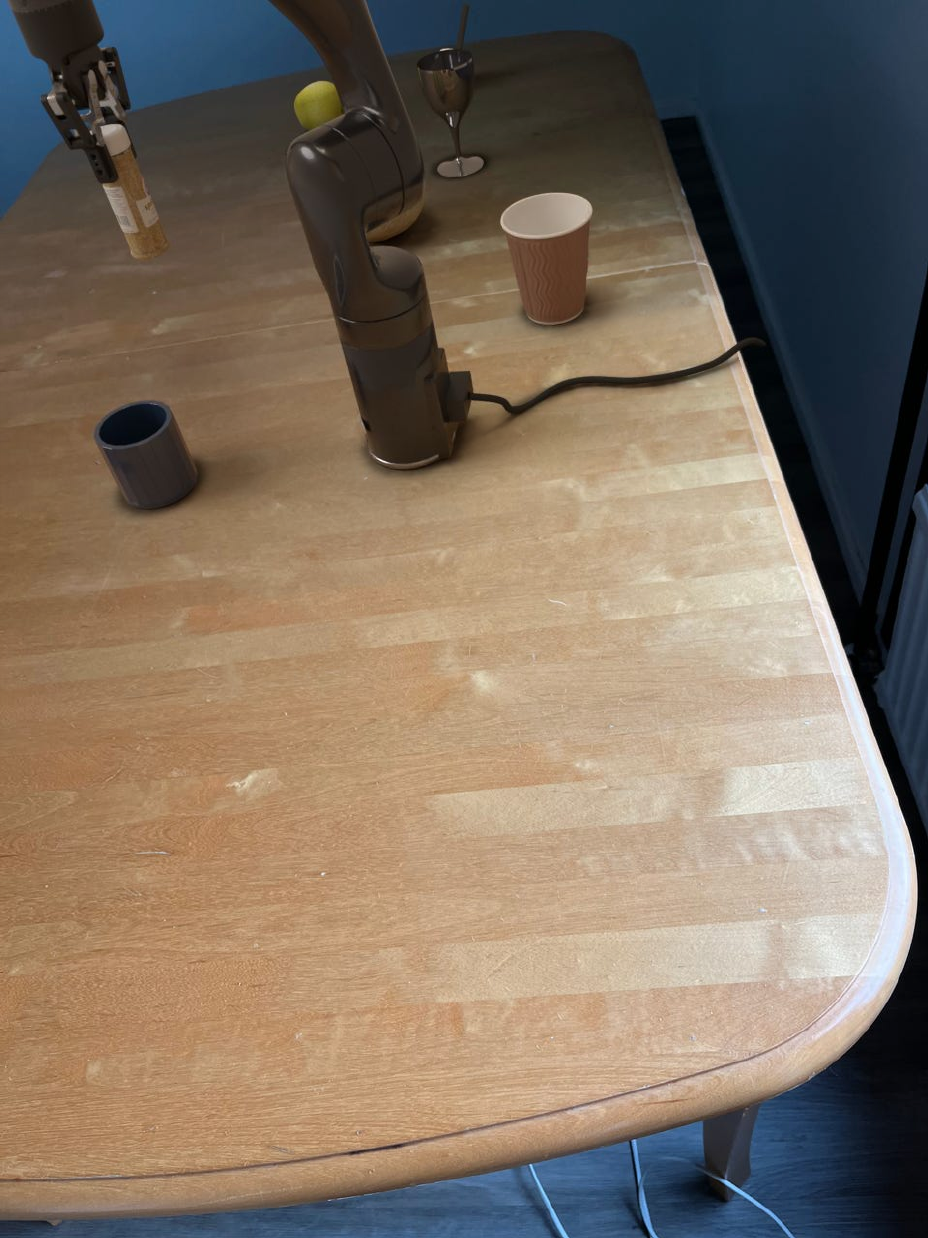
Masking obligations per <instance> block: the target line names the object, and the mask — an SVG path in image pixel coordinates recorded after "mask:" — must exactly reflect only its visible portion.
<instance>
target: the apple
mask: <svg viewBox="0 0 928 1238" xmlns="http://www.w3.org/2000/svg"><path fill="white" fill-rule="evenodd" d="M293 109H294V113H295V116H296V117H297V120H298V122H299V124H300V125H301V127H302V128H303V129H305V130H306V131H307V132H308V131H310V130H312V129H314V128H316V127H319V126H321V125H323V124H325V123H327V122H329V121H331V120H333V119H335V118H337V117H339V116H341V115H344V112H343V108H342V104H341V102H340V99H339V96H338V93H337V91H336V88H335V86H334V83H333V82H330V81H326V80H317V81H315V82H312V83H310V84H308V85H307V86H305V87H304V88H303V89H302V90H300V91H299V93H297V95H296V96H295V99H294V101H293Z"/></svg>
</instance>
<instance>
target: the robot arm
mask: <svg viewBox="0 0 928 1238" xmlns="http://www.w3.org/2000/svg"><path fill="white" fill-rule="evenodd" d="M267 1H268V2H269V3H270V4H271V5H272V6H273V7H275V8H276V9H277V10H278V11H279V13H281V14H282V15H283V16H284V17H285V18H286V19H287V20H288V21H289V22H290V23H291V24H292V25H293V26H294V27H296V29H298V31H299V32H300V33H301V34H302V35H303V36H304V38H306V40H307V41H308V42H309V43H310V44H311V45H312V47H313V49H314V50H315V51H316V52H317V54H318V56H319V58H320V59H321V61H322V62H323V64H324V66H325V68H326V70H327V73H328V75H329V76H330V79H331V81H332V83H333V84H334V86H335V88H336V91H337V93H338V96H339V99H340V102H341V104H342V108H343V112H344V115H341V116H339V117H337V118H335V119H333V120H331V121H329V122H327V123H325V124H323V125H321V126H319V127H316V128H314V129H312V130H310V131H308V130H307V131H306V132H304V133H302V134H301V135H299V136H297V137H296V138H295V139H293V140H292V141H291V142H290V143H289V145H288V148H287V151H286V156H285V171H286V177H287V182H288V187H289V190H290V191H289V192H290V193H291V197H292V200H293V204H294V207H295V210H296V212H297V215H298V218H299V221H300V225H301V227H302V229H303V234H304V236H305V239H306V242H307V245H308V248H309V252H310V255H311V258H312V261H313V264H314V267H315V271H316V272H317V275H318V277H319V279H320V281H321V283H322V286H323V288H324V290H325V291H326V295H327V297H328V300H329V303H330V307H331V311H332V314H333V319H334V322H335V323H334V324H335V327H336V330H337V333H338V337H339V341H340V345H341V349H342V352H343V357H344V359H345V363H346V367H347V371H348V374H349V378H350V383H351V386H352V390H353V392H354V393H353V394H354V396H355V400H356V404H357V408H358V410H356V413H357V417H358V420H359V422H360V424H361V427H362V428H363V431H364V435H365V440H366V442H367V447H368V448H367V449H368V452H369V455H370V457H371V458H372V460H374V461H375V462H376V463H377V464H379V465H380V466H383V467H386V468H389V469H394V470H411V469H412V470H413V469H418V468H422V467H426V466H429V465H431V464H433V463H435V462H436V461H439V460H447V459H450V458H452V457H451V456H452V452H453V448H454V444H455V442H456V439H457V438H456V437H457V431H458V428H459V423H467V422H468V417H469V414H470V410H471V409H470V408H471V405H472V401H474V402H484V403H486V402H487V403H493V404H497V405H501V406H502V407H503V409H504V411H505V412H507V413H508V414H521V413H523V412H525V411H528V410H530V409H531V408H532V407H534V406H536V405H537V404H539V403H541V402H542V401H544V400H546V399H547V398H549V397H551V396H552V395H554V394H555V393H557V392H559V391H560V390H563V389H565V388H569V387H571V386H578V385H586V384H601V385H602V384H603V385H605V384H606V385H618V386H619V385H622V386H631V385H632V386H633V385H635V386H636V385H645V384H653V383H661V382H666V381H667V382H668V381H672V380H677V379H681V378H686V377H689V376H692V375H697V374H700V373H703V372H706V371H708V370H711V369H712V370H713V369H715V368H716V367H718V366H720V365H722V364H723V363H725V362H727V361H728V360H729V359H731V358H732V357H733V356H735V355H736V354H737V353H738V352H740V351H741V350H743V349H744V348H746V347H748V346H755V347H758V348H764V347H765V346H766V345H767V343H766V342H765V341H764V340H762V339H761V338H758V337H747V338H744V339H742V340H740V341H739V342H737V343H735V344H734V345H733V346H731V347H730V348H729V349H728V350H726V351H725V352H724V353H722V354H721V355H720V356H718V357H716V358H715V359H713V360H710V361H708V362H705V363H702V364H699V365H694V366H692V367H688V368H683V369H680V370H676V371H671V372H670V371H669V372H664V373H659V374H658V373H657V374H652V375H645V376H633V377H632V376H630V377H629V376H628V377H626V376H625V377H624V376H622V377H621V376H608V375H607V376H605V375H587V376H586V375H585V376H578V377H577V376H576V377H572V378H568V379H565V380H561V381H559V382H557V383H555V384H553V385H552V386H550V387H548V388H546V389H545V390H543V391H542V392H541V393H539V394H538V395H536V396H535V397H533V398H532V399H530V400H529V401H526V402H524V403H522V404H519V405H512V404H511V403H510V402H509V400H508V399H507V398H505V397H502V396H499V395H496V394H491V393H479V392H474V391H475V390H474V386H473V380H472V374H471V370H457V371H450V369H449V366H448V359H447V354H446V350H445V347H439V343H438V339H437V333H436V329H435V323H434V317H433V312H432V308H431V301H430V296H429V292H428V287H427V281H426V274H425V270H424V267H423V264H422V262H421V259H420V258H419V257H418V256H417V255H416V254H415V253H413V252H412V251H410V250H408V249H405V248H401V247H398V246H392V245H373V246H370V242H368V239H367V233H368V232H370V231H372V230H374V229H376V228H377V227H379V226H381V225H383V224H385V223H387V222H388V221H390V220H392V219H394V218H396V217H397V216H399V215H401V214H403V213H404V212H406V211H408V210H409V209H411V208H413V207H414V206H415V205H416V204H418V202H419V201H420V199H421V198H422V196H423V193H424V188H425V182H426V172H425V171H426V170H425V164H424V160H423V154H422V151H421V147H420V144H419V140H418V137H417V134H416V131H415V128H414V126H413V123H412V120H411V118H410V115H409V112H408V110H407V107H406V105H405V102H404V99H403V97H402V95H401V93H400V90H399V87H398V85H397V82H396V79H395V77H394V74H393V72H392V70H391V69H392V68H391V66H390V64H389V62H388V59H387V56H386V53H385V51H384V49H383V46H382V43H381V40H380V38H379V35H378V31H377V29H376V27H375V25H374V22H373V21H374V20H373V19H372V15H371V12H370V9H369V7H368V3H367V1H366V0H267ZM7 2H8V4H9V7H10V9H11V12H12V14H13V16H14V19H15V21H16V23H17V26H18V28H19V31H20V33H21V35H22V38H23V40H24V42H25V44H26V47H27V49H28V52H29V53H30V55H31V56H32V57H34V58H35V59H38V60H41V61H43V62H44V63H45V64H46V66H47V69H48V73H49V78H50V82H51V85H52V87H51V90H50V92H49V93H42V94H41V95H40V103H41V105H42V107H43V108H44V110H45V112H46V113H47V115H48V117H49V119H50V121H52V123H53V125H54V126H55V128H56V130H57V131H58V133H59V135H60V136H61V138H62V139H63V141H64V143H65V144H66V146H67V147H68V149H69V150H71V151H75V150H82V151H84V153H85V155H86V157H87V159H88V160H87V161H88V162H89V165H90V167H91V169H92V171H93V174H94V177H95V178H96V180H97V182H98V183H99V184H100V185H101V184H102V185H103V184H106V183H114V182H116V181H117V179H118V178H119V176H118V173H117V171H116V168H115V166H114V163H113V161H112V158H111V156H110V153H109V151H108V148H107V146H106V144H104V138H103V134H102V130H101V123H102V124H103V126H105V125H110V124H119V125H122V126H123V127H124V128H125V130H126V132H127V135H128V137H129V140H130V143H131V144H130V146H131V150H132V152H133V155H134V158H135V160H137V157H138V154H137V151H136V148H135V146H134V143H133V141H132V138H131V136H130V133H129V130H128V127H127V125H126V122H127V120H128V117H127V113H126V111H130V110H131V109H132V104H131V100H130V96H129V92H128V89H127V84H126V81H125V75H124V72H123V67H122V64H121V60H120V56H119V51H118V49H117V48H116V47H115V46H105V47H100V46H99V44H100V43H101V42H102V40H103V39H104V36H105V30H104V27H103V24H102V22H101V19H100V15H99V14H98V10H97V9H96V6H95V3H94V0H7ZM86 110H89V112H88V113H83V114H80V113H79V111H86ZM86 123H88V124H89V126H90V127H89V128H90V129H89V128H88V126H87V125H86ZM71 130H73V132H72V131H71ZM90 131H92V135H91V133H90ZM73 133H74V134H73Z"/></svg>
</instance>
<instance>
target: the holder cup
mask: <svg viewBox="0 0 928 1238" xmlns="http://www.w3.org/2000/svg"><path fill="white" fill-rule="evenodd" d="M93 430H94V431H93V440H94V441H95V444H96V446H97V448H98V449H99V452H100V453H101V455H102V457H103V459H104V461H105V463H106V465H107V467H108V470H109V472H110V473H111V475H112V477H113V479H114V481H115V483H116V485H117V487H118V489H119V491H120V493H121V495H122V497H123V498H124V500H125V502H126V503H127V504H128V505H129V506H132V507H133V508H137V509H141V510H154V509H155V510H156V509H160V508H164V507H167V506H169V505H172V504H174V503H176V502H177V501H180V500H182V499H183V498H184V497H186V496H187V495H188V494H189V492H191V491H192V490H193V489H194V487H195V486H196V484H197V481H198V478H199V472H198V469H197V466H196V463H195V462H194V458H193V457H192V455H191V452H190V450H189V446H188V445H187V443H186V441H185V438H184V435H183V433H182V432H181V429H180V427H179V424H178V422H177V419H176V417H175V415H174V412H173V410H172V409H171V408H170V406H169V405H168V404H166V403H164V402H163V401H160V400H152V399H147V400H146V399H145V400H138V401H133V402H130V403H126V404H124V405H122V406H119V407H117V408H115V409H113V410H112V411H109V412H108V413H107V414H105V416H104V417H102V418H101V419H100V420H99V421H98V423H97V424H96V426H95V427H94V429H93Z"/></svg>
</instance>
